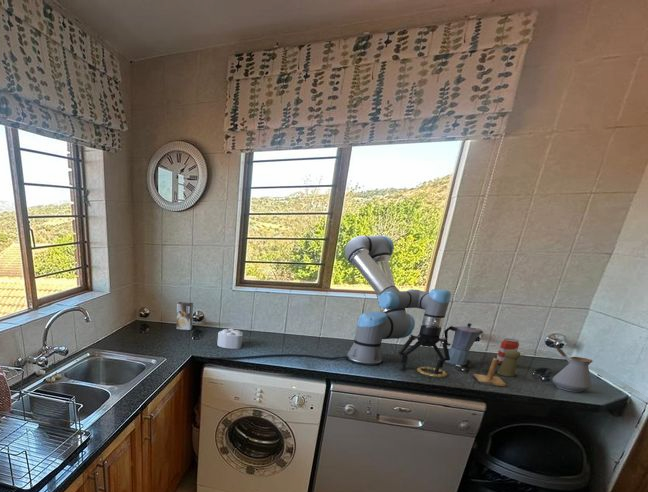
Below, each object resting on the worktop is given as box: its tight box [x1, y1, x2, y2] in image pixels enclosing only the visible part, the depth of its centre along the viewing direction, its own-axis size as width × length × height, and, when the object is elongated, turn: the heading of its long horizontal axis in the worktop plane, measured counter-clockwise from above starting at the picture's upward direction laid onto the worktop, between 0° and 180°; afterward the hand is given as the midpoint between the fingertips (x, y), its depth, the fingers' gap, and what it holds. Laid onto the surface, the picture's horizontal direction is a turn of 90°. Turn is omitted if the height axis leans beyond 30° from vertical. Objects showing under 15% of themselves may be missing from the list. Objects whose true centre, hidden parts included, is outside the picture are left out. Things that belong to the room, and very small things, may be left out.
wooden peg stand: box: [473, 357, 507, 387], centre depth 171 cm, size 9×9×10 cm
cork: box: [496, 350, 521, 377], centre depth 179 cm, size 6×6×11 cm
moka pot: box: [443, 323, 484, 366], centre depth 190 cm, size 10×15×20 cm, turn 78°
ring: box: [416, 366, 448, 378], centre depth 181 cm, size 11×11×2 cm
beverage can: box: [495, 337, 520, 365], centre depth 192 cm, size 6×6×12 cm
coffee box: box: [176, 301, 194, 331], centre depth 249 cm, size 9×6×16 cm
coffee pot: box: [549, 343, 593, 393], centre depth 168 cm, size 21×12×15 cm, turn 171°
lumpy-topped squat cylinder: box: [216, 328, 244, 350], centre depth 217 cm, size 10×13×9 cm
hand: (419, 371), depth 183 cm, fingers open, 12 cm apart
